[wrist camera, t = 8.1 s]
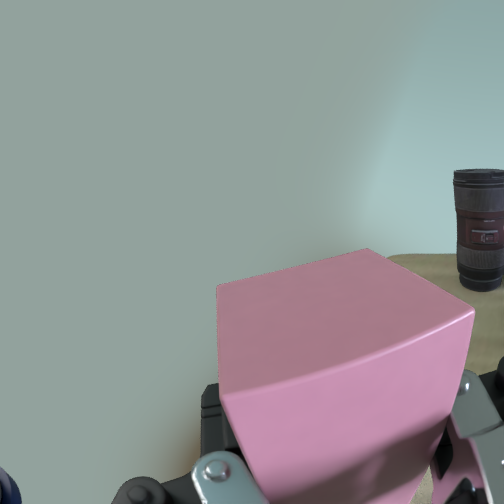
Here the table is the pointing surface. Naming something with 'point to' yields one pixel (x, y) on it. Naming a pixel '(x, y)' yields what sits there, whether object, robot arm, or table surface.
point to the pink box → (340, 377)
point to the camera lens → (480, 227)
